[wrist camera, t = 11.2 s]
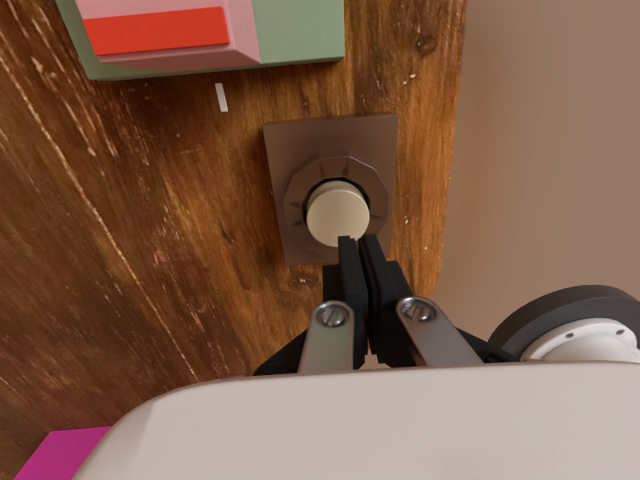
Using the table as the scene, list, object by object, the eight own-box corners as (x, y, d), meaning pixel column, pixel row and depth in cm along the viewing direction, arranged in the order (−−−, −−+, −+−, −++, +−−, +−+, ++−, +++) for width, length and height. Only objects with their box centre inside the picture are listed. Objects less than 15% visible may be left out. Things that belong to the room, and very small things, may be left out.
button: (364, 177, 16) (370, 186, 14) (364, 231, 18) (369, 244, 16) (304, 182, 16) (303, 192, 15) (310, 236, 18) (309, 249, 16)
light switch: (389, 111, 18) (408, 116, 14) (383, 244, 22) (396, 272, 19) (267, 121, 18) (256, 129, 14) (287, 251, 23) (283, 280, 19)
